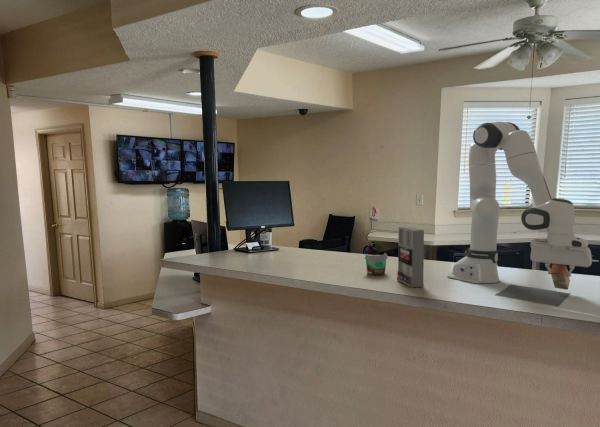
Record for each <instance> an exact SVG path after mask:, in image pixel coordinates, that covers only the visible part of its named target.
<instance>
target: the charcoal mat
mask: <svg viewBox="0 0 600 427" xmlns="http://www.w3.org/2000/svg"><path fill="white" fill-rule="evenodd" d="M570 295H571V293H570V292H563V291H558V290H550V289H544V288H536V287H530V286H524V285H518V284H510V285H508V286H506V287H505V288H503V289H502V290H500V291H499V292H497V293H495V294H494V296H495V297H503V298H507V299H514V300H520V301H526V302H532V303H535V304H536V303H537V304H541V305H542V304H543V305H548V306H554V307H560V306H561V305H562V303H564V301H565V300H566V299H567V298H568V297H569V296H570Z"/></svg>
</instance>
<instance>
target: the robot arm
mask: <svg viewBox="0 0 600 427" xmlns="http://www.w3.org/2000/svg"><path fill="white" fill-rule="evenodd" d="M472 139H473V143H471V145H470V147H469V152H468V173H469V176H468V177H469V209H470V211H471V224H470V225H471V227H470V246H469V248H467V249H466V250H465V251H464V254H465V256H464V257H462V258H461V259H459V260H457V261H456V262H455V263H454V265H453V267H452V271H450V272H449V273H447V275H446V276H447V278H450V279H453V280H458V281H462V282H468V283H473V284H494V283H499V282H500V281H501V280H500V276H499V273H498V272H499V271H498V260H499V259H498V258H499V253H498V249H497V246H498V245H497V242H498V241H497V239H498V229H499V228H498V226H499V219H500V203H499V202H498V200H496V196H497V195H496V192H497V190H496V189H497V172H496V171H497V170H496V169H497V168H496V166H497V165H496V153H497V151H498V150H500V151H502V150H503V152H504V155H505V161H506V164H507V167H508V170H509V171H510V173H511V175H512V176H514V178H516V179H518V180H520V181H522V182H523V183H525V184H526V186H527V187H528V189H529V191H530V193H531V196H532V199H533V202H534V204H535V206H530V207H528V208H526V209H525V210H523V212H522V213H521V216H520V217H521V218H520V221H521V223H522V226H524V227H525V228H526V229H527V230H530V231H542V230H546V232H547V233H546V234H547V237H546V238H534V239H532V240H531V241H530V243H529V244H530V248H531V251H530V256H529V257H530V261H532V262H534V263H535V262H536V263H544V266H545V268H546V269H547V274H548V275H551V268H552V267H551V264H562V265H566V266H569V267H568V268H569V271H566V276H567V277H569V278H571V277H572V272H573V270H574V269H575V267H582V268H590V267H591V265H592V263H593V256H592V251H591V249H590V248H589V247H588V246H589V241H588V240H587V239H584V238H582V237H578V236H575V230H574V224H575V220H576V219H575V207H574V203H573V202H572V201H571V200H569V199H564V198H558V197H554V198H552V196H551V193H550V191H549V190H550V189H549V188H548V185H547V181H546V179H545V176H544V174H543V171H542V169H541V166H540V163H539V158H538V155H537V150H536V147H535V146H534V142H533V140H532V138H531V135H530V134H529V132H528V131H526V130H523V129H520V128H519V126H518V125H516V123H513V122H510V121H509V122H507V121H505V122H504V121H495V122H494V121H493V122H484V123H481V124H479V125H477V126H476V127H475V129H474V130H473V133H472Z"/></svg>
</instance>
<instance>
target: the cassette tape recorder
mask: <svg viewBox="0 0 600 427" xmlns="http://www.w3.org/2000/svg"><path fill="white" fill-rule="evenodd" d="M424 233H425V229H420V228H416V227H413V226H398V235H397V236H398V237H397V238H398V243H397V244H398V247H397V248H398V250H397V252H398V253H397V260H398V262H397V263H398V264H397V265H398V267H397V277H396V280H397V281H398V282H400V283H402V284H404V285H406V286H408V287H409V288H412V289H413V288H423V287H424V286H425V284H424V267H425V266H424V265H425V264H424V262H425V261H424V258H425V257H424V255H425V254H424V253H425V252H424V251H425V250H424V249H425V248H424V247H425V246H424V245H425V243H424V242H425V239H424V238H425V234H424Z"/></svg>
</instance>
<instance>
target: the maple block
mask: <svg viewBox="0 0 600 427" xmlns="http://www.w3.org/2000/svg"><path fill="white" fill-rule="evenodd" d="M551 264H552V265H551V267H550V268H551V274H550V275H551V279H552V282H553V286H554V288H555V289H560V290H567V291H568V290H569V286H570V281H571V279H570V277H567V276H566V271H568V267H567V266H568V265H562V264H553V263H551Z"/></svg>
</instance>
